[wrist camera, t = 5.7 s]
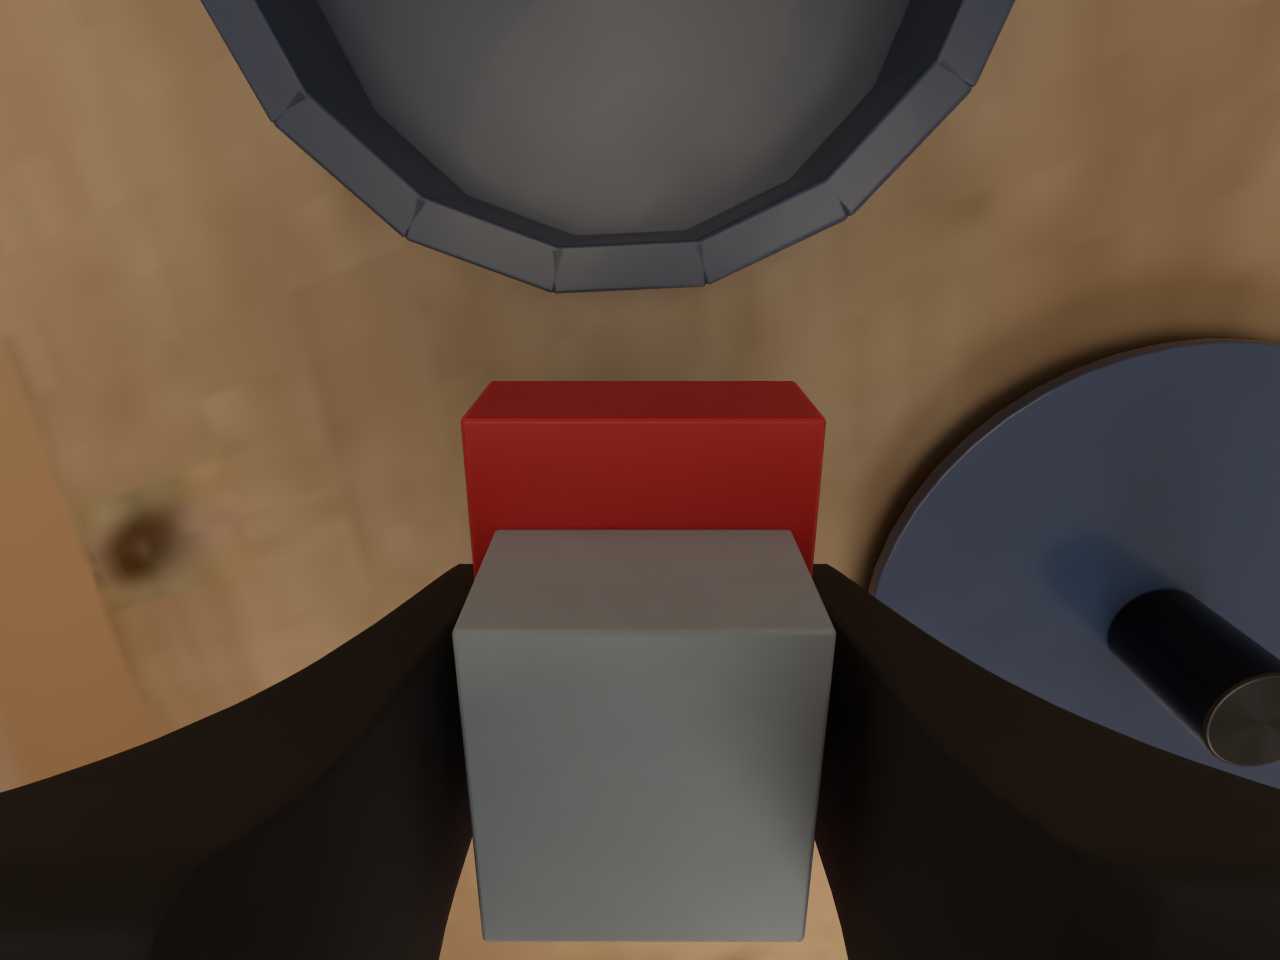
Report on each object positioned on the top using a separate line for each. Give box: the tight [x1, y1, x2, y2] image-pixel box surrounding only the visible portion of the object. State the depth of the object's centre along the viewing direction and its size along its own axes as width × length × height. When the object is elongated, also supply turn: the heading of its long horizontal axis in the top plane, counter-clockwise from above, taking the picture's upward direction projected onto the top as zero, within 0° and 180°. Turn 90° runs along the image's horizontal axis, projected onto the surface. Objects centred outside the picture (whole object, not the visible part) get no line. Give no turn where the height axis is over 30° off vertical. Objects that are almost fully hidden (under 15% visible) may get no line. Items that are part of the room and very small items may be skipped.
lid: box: [868, 338, 1280, 789], centre depth 18 cm, size 15×15×5 cm
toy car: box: [452, 381, 836, 941], centre depth 10 cm, size 7×4×5 cm, turn 0°
